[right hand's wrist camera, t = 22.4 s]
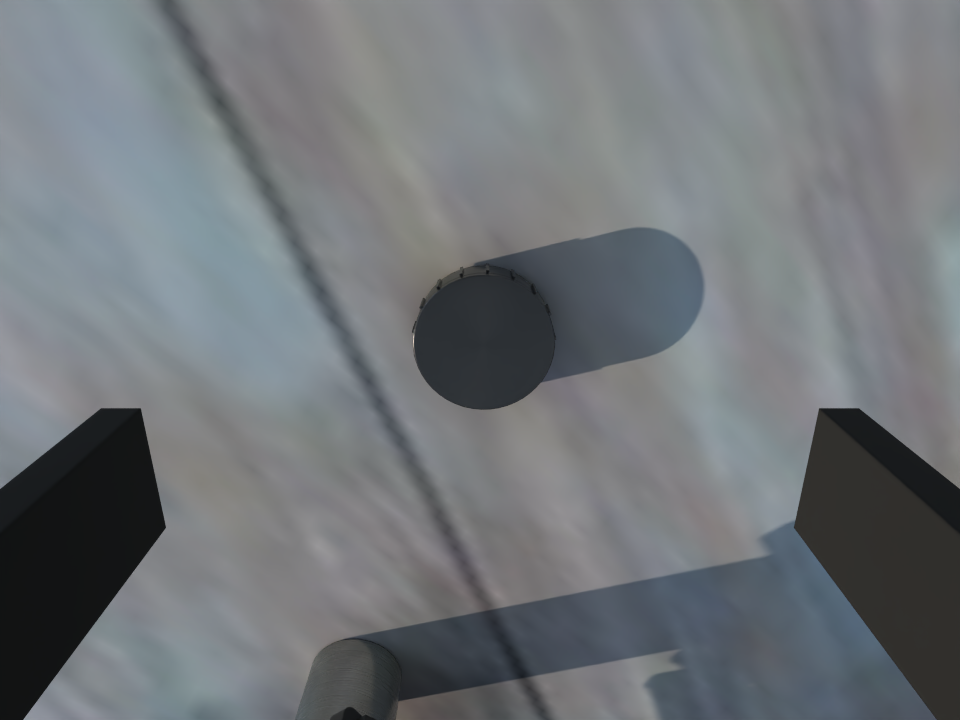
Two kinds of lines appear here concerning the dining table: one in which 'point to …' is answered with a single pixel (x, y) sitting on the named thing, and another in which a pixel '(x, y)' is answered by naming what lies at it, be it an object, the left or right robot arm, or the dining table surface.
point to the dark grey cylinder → (352, 682)
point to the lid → (483, 337)
